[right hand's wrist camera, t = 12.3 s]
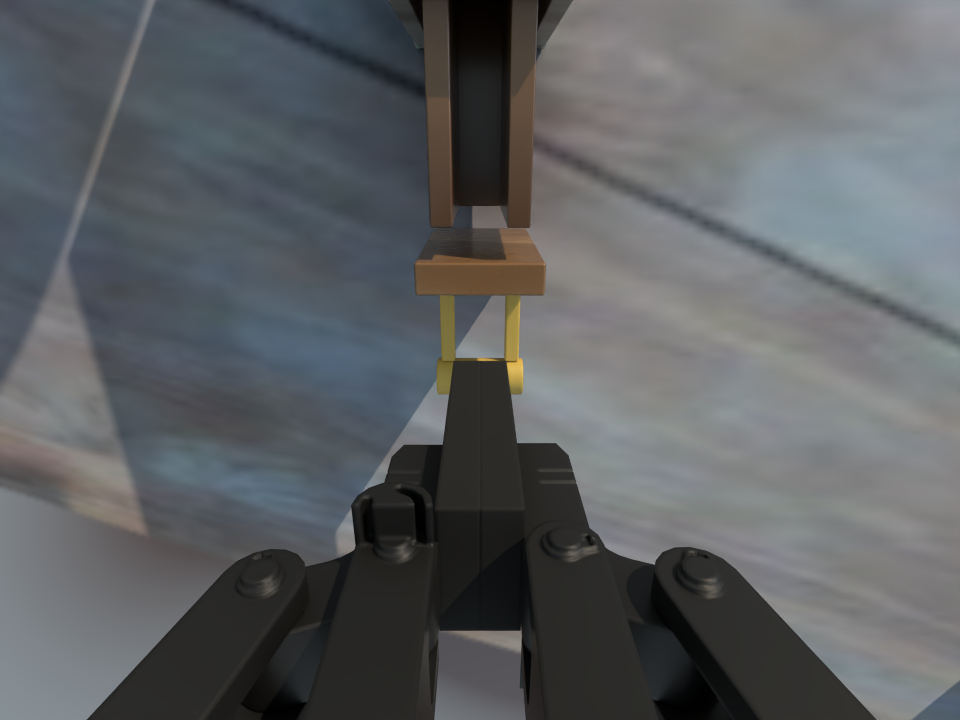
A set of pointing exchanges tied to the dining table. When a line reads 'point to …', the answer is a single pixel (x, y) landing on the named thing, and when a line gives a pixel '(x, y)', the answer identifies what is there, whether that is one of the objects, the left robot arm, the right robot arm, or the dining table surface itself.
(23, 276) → the dining table surface
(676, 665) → the right robot arm
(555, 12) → the cabinet
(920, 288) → the dining table surface
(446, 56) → the drawer
